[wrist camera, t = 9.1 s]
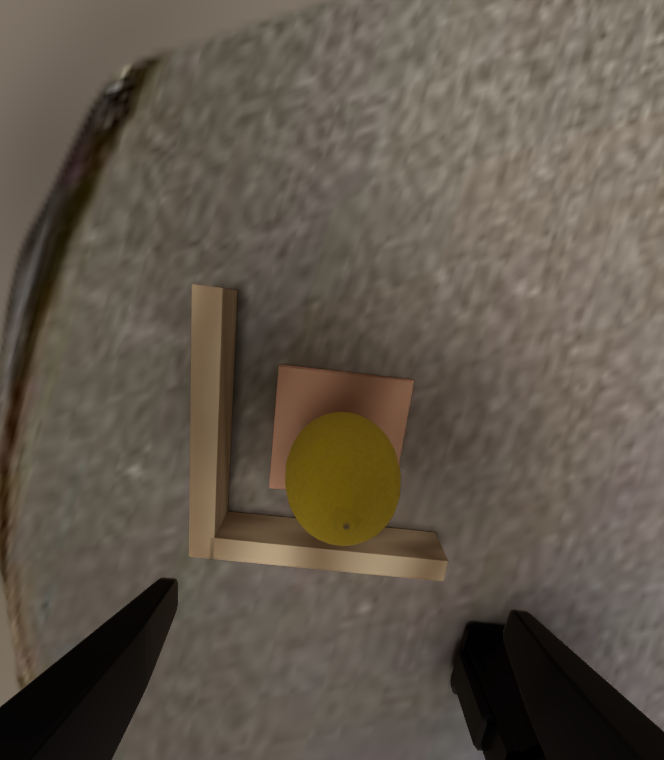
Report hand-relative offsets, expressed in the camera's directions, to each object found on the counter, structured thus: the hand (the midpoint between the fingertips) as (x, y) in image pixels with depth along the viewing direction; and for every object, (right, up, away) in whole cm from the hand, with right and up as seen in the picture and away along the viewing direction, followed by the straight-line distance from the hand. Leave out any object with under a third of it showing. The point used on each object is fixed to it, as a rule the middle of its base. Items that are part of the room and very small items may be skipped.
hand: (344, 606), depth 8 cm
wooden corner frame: (0, +3, +11) cm, 12 cm away
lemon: (0, +3, +11) cm, 11 cm away
